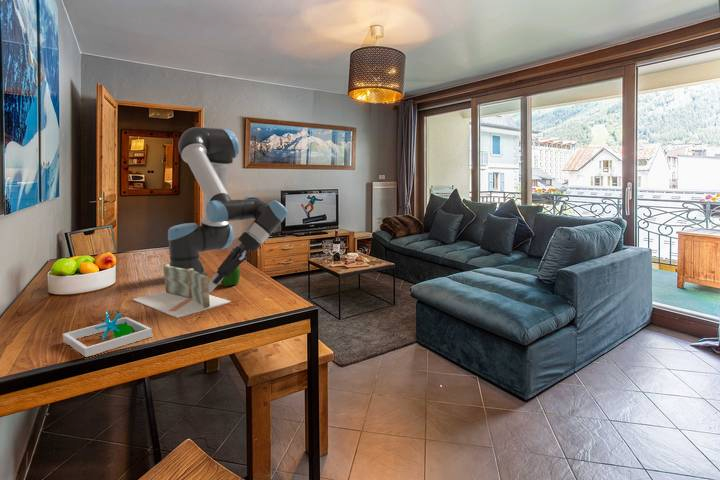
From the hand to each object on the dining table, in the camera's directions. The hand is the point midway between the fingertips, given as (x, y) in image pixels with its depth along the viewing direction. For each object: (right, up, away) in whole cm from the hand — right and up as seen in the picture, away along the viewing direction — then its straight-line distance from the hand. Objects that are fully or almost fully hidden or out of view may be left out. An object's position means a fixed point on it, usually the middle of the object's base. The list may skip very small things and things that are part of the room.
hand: (207, 290), depth 132 cm
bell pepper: (-1, -1, +25) cm, 25 cm away
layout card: (-11, -4, +4) cm, 13 cm away
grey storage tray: (-15, -10, -28) cm, 34 cm away
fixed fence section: (-14, -3, +11) cm, 18 cm away
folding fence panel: (-3, -4, +1) cm, 5 cm away
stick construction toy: (-14, -10, -26) cm, 31 cm away
